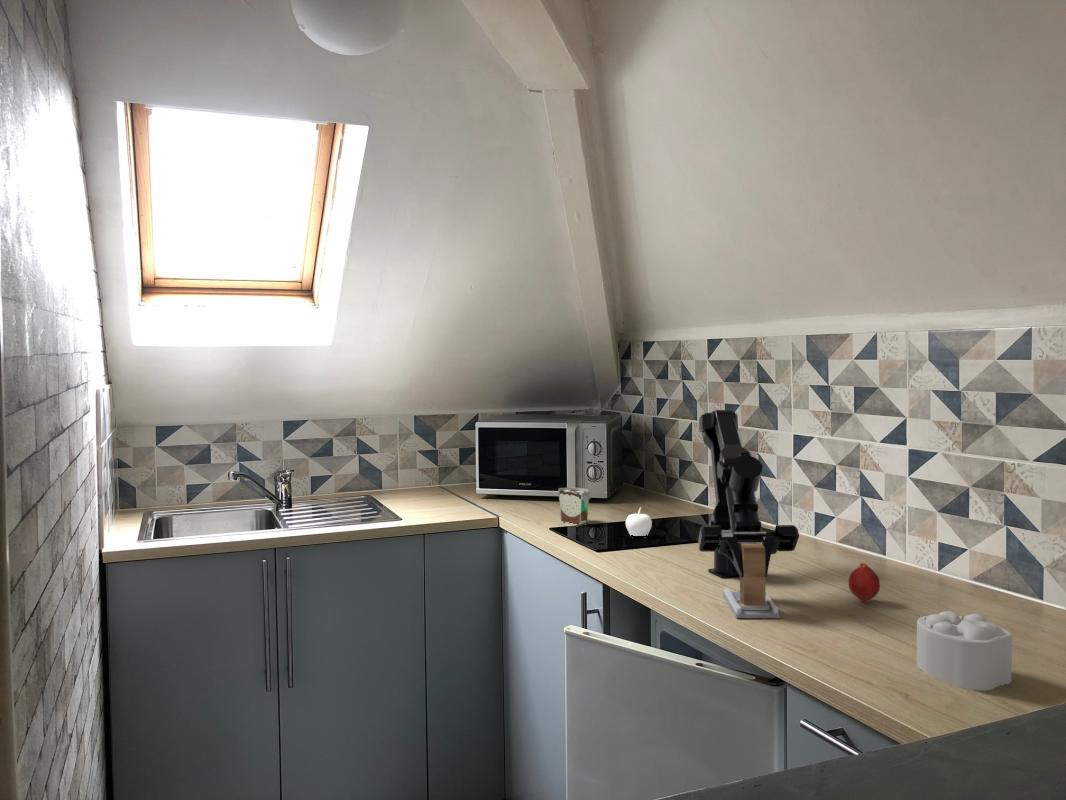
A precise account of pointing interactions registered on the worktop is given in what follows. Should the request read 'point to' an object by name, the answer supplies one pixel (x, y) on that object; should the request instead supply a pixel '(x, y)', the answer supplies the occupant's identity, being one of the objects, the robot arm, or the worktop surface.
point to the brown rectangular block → (752, 577)
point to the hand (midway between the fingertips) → (754, 576)
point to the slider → (739, 613)
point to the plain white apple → (638, 524)
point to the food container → (574, 505)
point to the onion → (864, 583)
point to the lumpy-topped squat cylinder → (964, 650)
